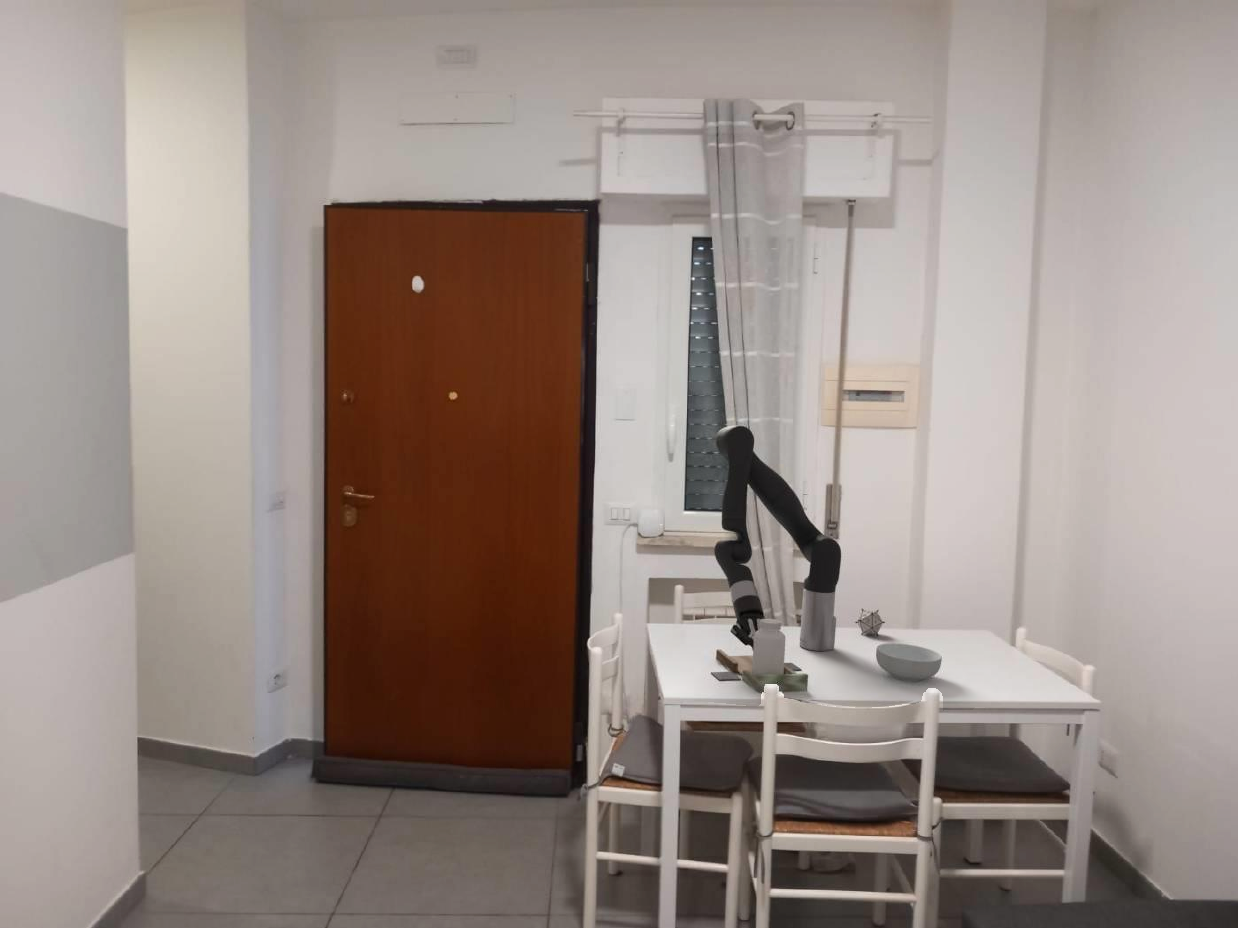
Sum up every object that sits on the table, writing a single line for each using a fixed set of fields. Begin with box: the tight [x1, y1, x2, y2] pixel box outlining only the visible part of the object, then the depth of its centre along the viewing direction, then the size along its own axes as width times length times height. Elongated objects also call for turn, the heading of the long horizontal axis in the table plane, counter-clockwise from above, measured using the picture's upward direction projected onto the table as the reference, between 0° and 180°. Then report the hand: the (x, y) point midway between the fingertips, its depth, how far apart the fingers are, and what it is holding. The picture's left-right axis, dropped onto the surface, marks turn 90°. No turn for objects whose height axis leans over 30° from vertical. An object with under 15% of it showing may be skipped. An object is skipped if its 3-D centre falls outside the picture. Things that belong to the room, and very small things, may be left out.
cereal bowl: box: [875, 642, 943, 683], centre depth 235 cm, size 17×17×7 cm
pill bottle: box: [752, 618, 786, 677], centre depth 225 cm, size 8×8×15 cm
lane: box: [710, 649, 809, 694], centre depth 231 cm, size 26×28×4 cm
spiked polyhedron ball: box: [854, 608, 886, 637], centre depth 278 cm, size 9×8×10 cm
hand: (761, 658), depth 230 cm, fingers closed
